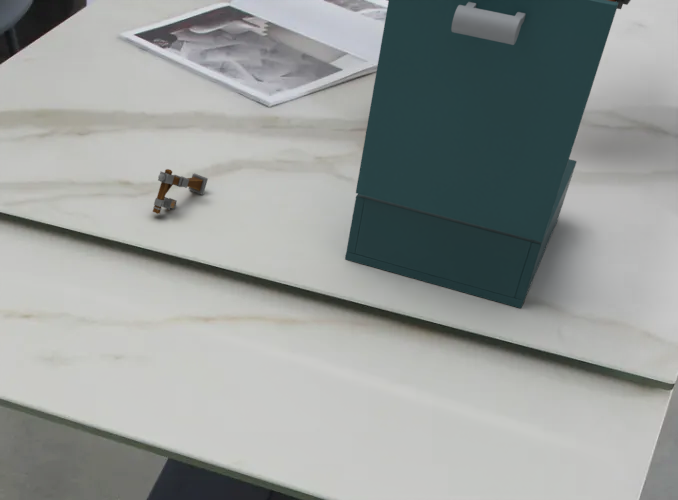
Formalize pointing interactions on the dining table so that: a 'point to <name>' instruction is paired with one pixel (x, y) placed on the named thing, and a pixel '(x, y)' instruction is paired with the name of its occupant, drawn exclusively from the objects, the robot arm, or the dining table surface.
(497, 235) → the teal box base
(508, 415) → the dining table surface
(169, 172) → the brown grey bent piece
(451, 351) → the dining table surface
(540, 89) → the lid
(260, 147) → the dining table surface
